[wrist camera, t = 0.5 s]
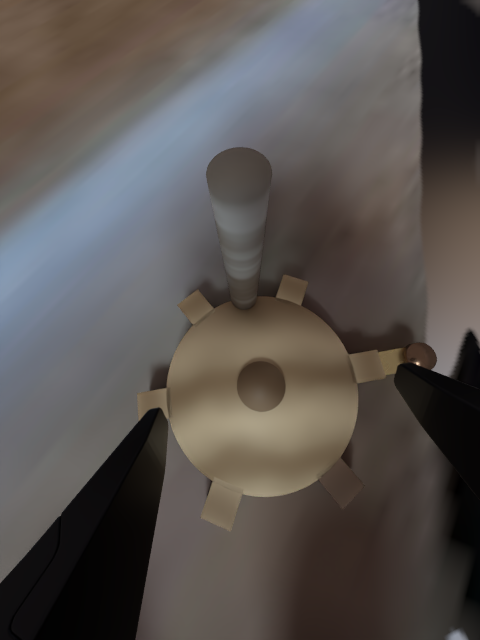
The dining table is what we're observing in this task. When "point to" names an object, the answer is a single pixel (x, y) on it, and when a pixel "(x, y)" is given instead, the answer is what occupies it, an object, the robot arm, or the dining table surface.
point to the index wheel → (259, 368)
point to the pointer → (408, 357)
